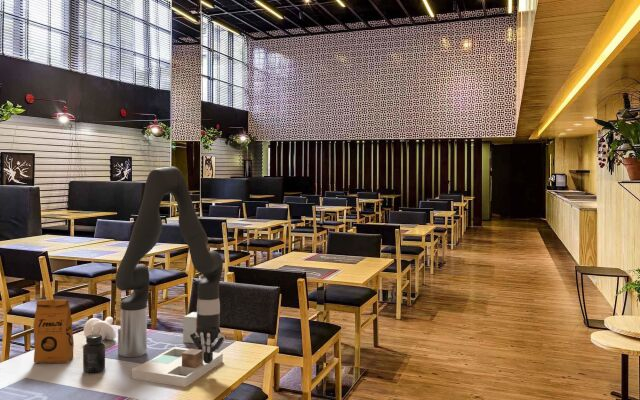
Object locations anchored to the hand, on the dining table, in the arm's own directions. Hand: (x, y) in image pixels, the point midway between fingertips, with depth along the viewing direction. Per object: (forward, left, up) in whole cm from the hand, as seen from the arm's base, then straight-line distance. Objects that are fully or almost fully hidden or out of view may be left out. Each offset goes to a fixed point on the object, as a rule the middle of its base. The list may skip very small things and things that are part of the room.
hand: (208, 362), depth 169 cm
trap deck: (-11, 0, -4) cm, 12 cm away
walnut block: (-5, -1, -1) cm, 5 cm away
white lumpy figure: (-57, +16, -4) cm, 60 cm away
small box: (-24, +30, -4) cm, 39 cm away
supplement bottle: (-37, -11, -4) cm, 39 cm away
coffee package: (-57, -8, -4) cm, 58 cm away
